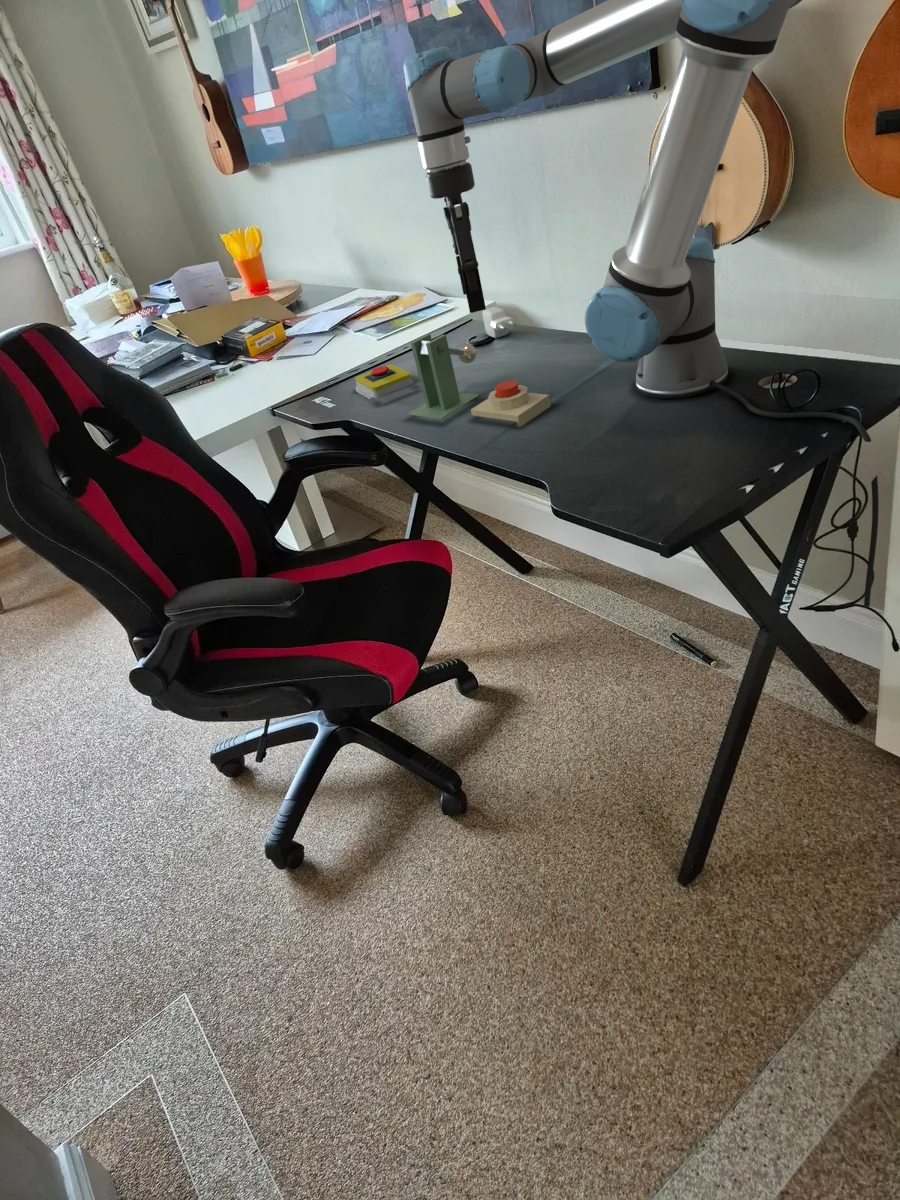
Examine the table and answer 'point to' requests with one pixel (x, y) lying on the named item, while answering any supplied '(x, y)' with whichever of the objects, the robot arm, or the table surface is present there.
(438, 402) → the switch bracket
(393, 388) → the emergency button
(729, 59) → the robot arm
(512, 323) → the power adapter
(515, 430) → the table surface
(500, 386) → the button
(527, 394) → the button console
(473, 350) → the lever switch
